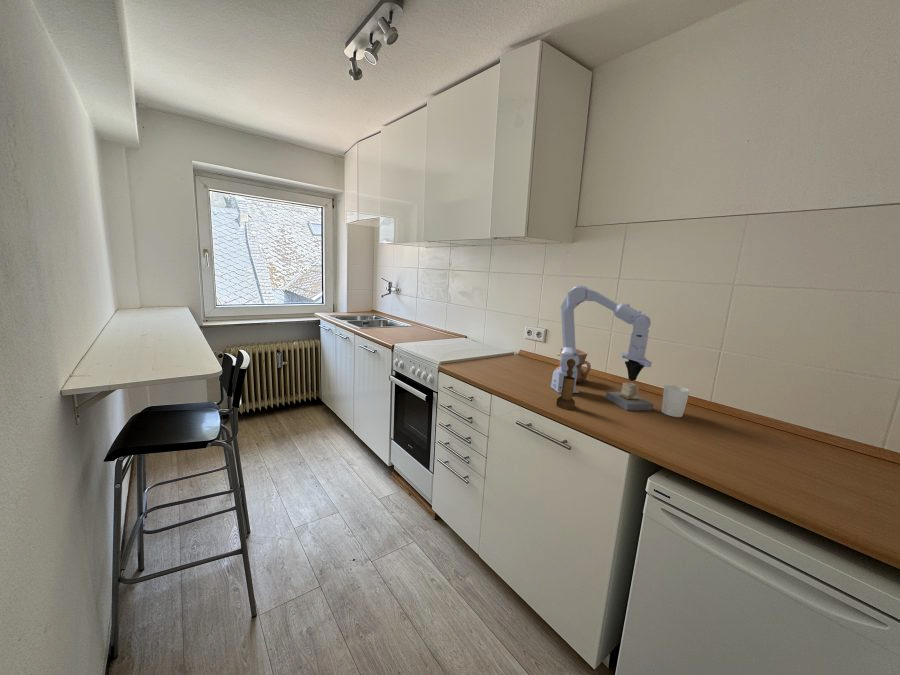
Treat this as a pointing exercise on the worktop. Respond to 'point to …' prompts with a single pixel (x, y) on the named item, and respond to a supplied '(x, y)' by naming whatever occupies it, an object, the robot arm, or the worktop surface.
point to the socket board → (629, 402)
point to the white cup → (674, 400)
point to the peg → (629, 391)
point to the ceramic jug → (579, 365)
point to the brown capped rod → (567, 388)
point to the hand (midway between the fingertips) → (632, 380)
